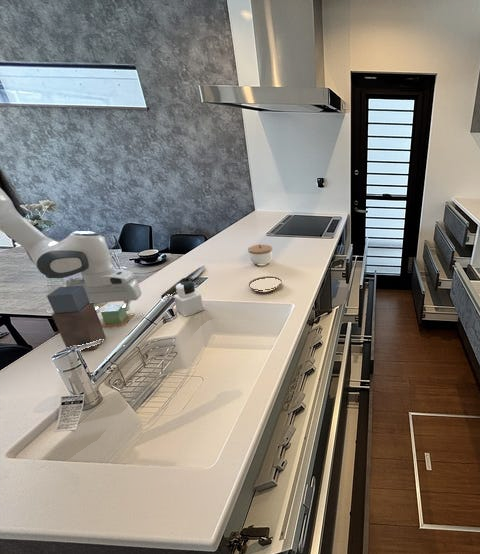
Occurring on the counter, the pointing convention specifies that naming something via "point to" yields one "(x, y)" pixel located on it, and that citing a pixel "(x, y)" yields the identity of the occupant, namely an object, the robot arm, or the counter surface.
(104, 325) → the cork mat
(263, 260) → the lidded bowl
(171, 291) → the kitchen knife
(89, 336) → the storage box
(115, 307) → the green box
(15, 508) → the counter surface
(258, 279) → the plant saucer
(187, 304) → the medicine bottle
